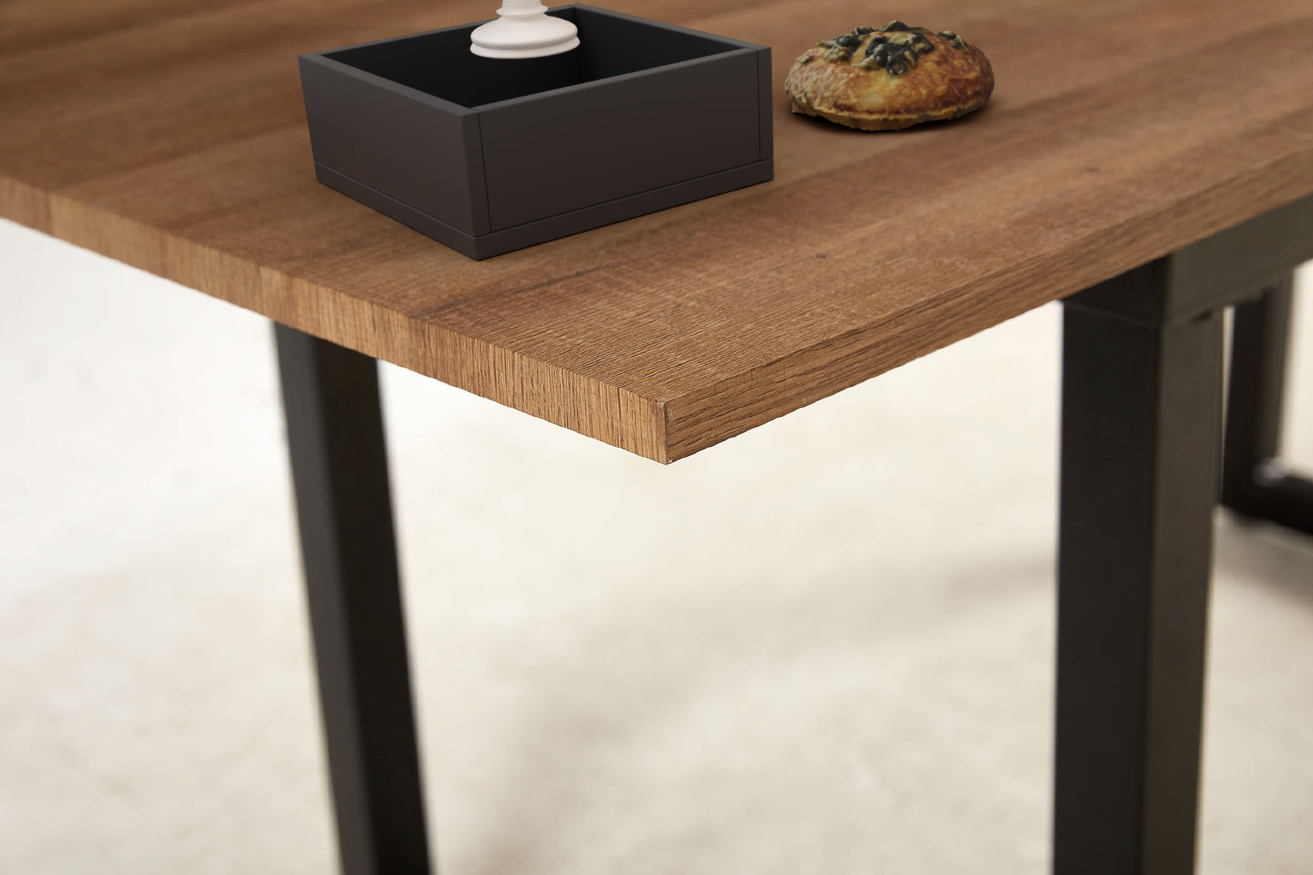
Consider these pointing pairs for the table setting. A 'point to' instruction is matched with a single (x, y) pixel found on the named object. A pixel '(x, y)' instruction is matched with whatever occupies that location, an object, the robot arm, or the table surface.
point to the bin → (539, 127)
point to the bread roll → (890, 77)
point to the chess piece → (523, 33)
